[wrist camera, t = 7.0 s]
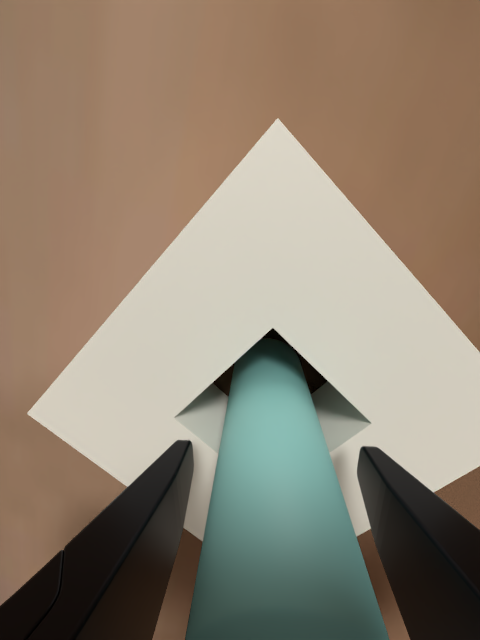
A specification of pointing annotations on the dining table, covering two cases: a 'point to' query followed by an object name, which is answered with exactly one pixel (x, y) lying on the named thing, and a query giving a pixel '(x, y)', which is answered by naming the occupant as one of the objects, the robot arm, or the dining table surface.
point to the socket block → (290, 322)
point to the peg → (278, 520)
